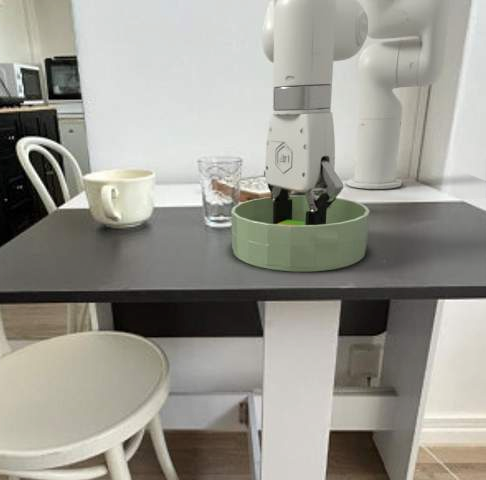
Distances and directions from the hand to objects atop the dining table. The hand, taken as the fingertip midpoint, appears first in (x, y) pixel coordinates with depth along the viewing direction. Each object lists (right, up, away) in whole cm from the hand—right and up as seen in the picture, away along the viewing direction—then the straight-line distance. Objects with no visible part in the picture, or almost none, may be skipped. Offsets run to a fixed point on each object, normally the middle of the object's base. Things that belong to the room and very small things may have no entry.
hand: (298, 230), depth 64 cm
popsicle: (0, -1, 0) cm, 1 cm away
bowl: (0, -3, 0) cm, 3 cm away
